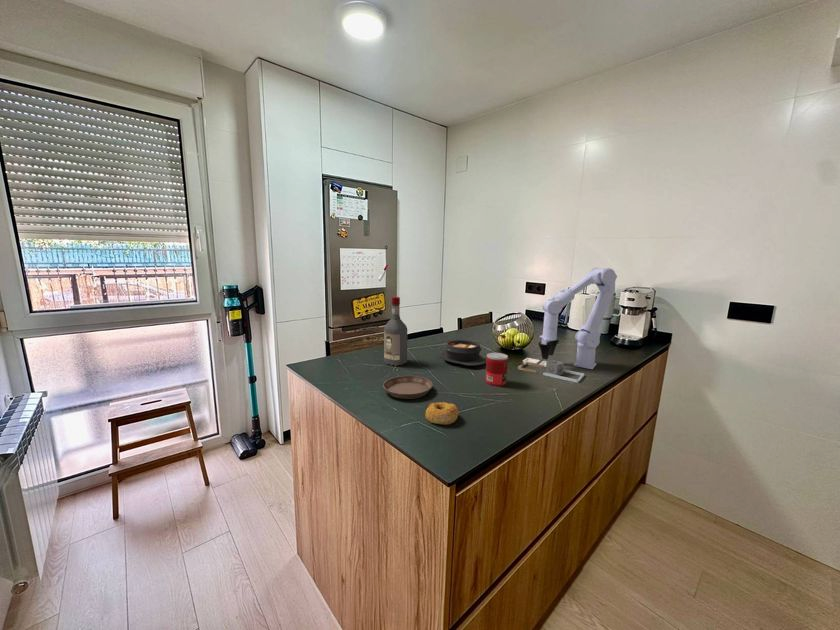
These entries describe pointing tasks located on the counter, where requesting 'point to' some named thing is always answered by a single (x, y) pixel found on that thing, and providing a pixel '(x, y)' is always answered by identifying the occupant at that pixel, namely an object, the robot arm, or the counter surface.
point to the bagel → (441, 413)
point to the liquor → (395, 337)
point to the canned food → (496, 369)
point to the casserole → (463, 353)
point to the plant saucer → (407, 387)
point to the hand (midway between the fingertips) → (547, 357)
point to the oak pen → (529, 369)
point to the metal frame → (566, 377)
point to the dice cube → (554, 367)
